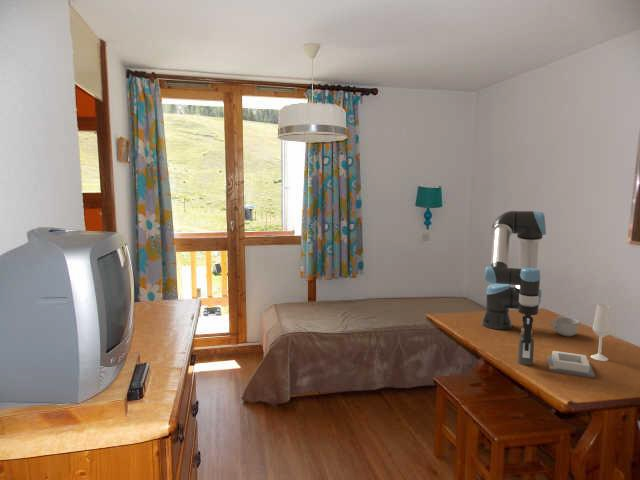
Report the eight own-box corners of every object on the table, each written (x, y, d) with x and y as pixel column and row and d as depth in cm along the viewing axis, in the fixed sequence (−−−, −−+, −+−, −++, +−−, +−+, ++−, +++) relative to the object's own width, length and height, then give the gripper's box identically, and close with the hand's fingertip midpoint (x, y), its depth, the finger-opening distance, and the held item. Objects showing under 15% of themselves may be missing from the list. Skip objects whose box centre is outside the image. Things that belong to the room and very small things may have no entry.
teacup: (571, 331, 225) (572, 316, 224) (582, 338, 214) (583, 323, 213) (544, 330, 226) (545, 316, 225) (553, 337, 215) (554, 322, 214)
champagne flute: (600, 361, 185) (604, 308, 182) (586, 355, 191) (590, 304, 188) (612, 360, 187) (616, 307, 184) (598, 354, 193) (602, 303, 190)
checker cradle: (547, 357, 190) (547, 348, 189) (589, 363, 183) (589, 354, 183) (549, 370, 175) (549, 361, 175) (594, 378, 169) (595, 368, 168)
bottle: (528, 360, 187) (530, 327, 185) (535, 365, 181) (537, 331, 179) (515, 360, 187) (517, 327, 185) (522, 365, 181) (523, 331, 179)
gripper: (539, 312, 168) (536, 364, 170) (537, 298, 190) (534, 343, 193) (518, 310, 171) (516, 360, 174) (519, 296, 194) (516, 341, 196)
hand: (525, 352), depth 183 cm, fingers open, 13 cm apart
